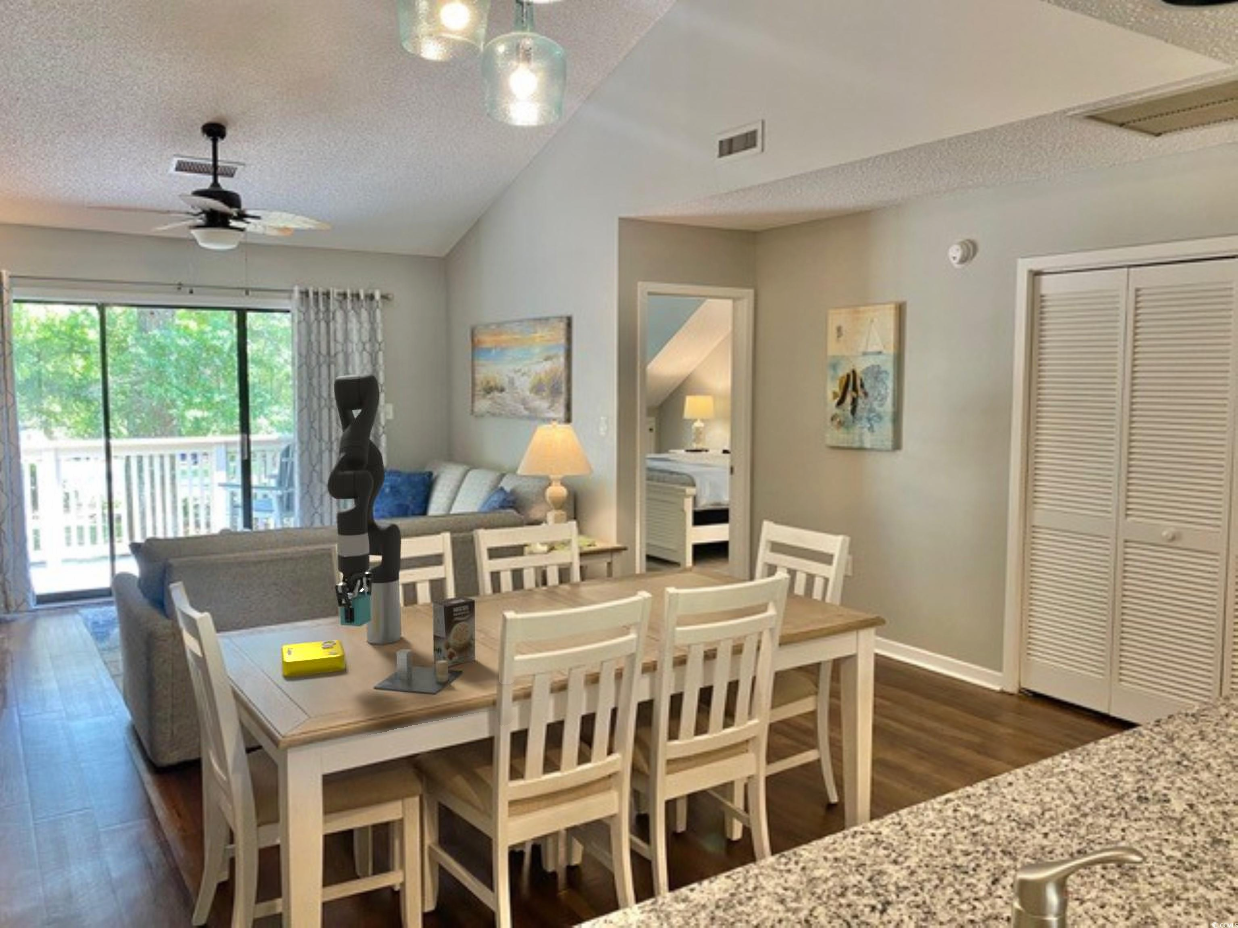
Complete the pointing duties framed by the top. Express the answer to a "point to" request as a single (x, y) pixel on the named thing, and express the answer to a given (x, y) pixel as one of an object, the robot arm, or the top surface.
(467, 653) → the coffee box
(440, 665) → the birch peg
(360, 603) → the teal toy cube
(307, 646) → the element tile
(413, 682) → the grey square base plate
